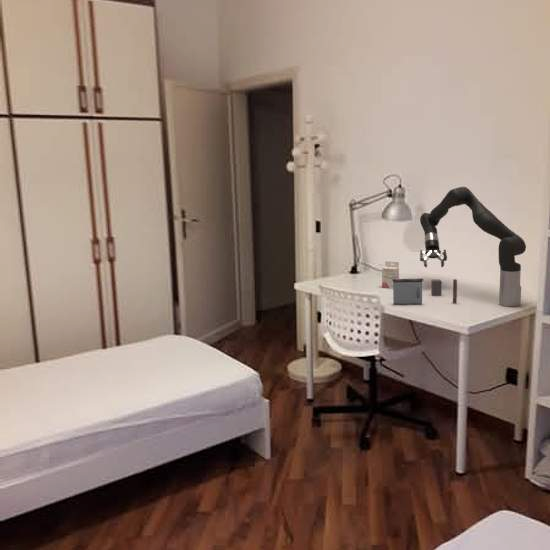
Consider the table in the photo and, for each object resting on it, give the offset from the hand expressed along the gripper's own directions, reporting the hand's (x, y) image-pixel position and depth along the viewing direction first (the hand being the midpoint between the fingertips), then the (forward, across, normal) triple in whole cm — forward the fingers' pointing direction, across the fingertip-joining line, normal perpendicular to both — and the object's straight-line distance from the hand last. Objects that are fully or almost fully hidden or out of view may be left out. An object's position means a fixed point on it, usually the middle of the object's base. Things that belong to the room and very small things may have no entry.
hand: (434, 266), depth 314 cm
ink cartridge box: (+4, -23, +16) cm, 28 cm away
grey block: (+31, -17, -12) cm, 37 cm away
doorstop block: (+17, 0, +2) cm, 17 cm away
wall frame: (+30, -9, -10) cm, 33 cm away
